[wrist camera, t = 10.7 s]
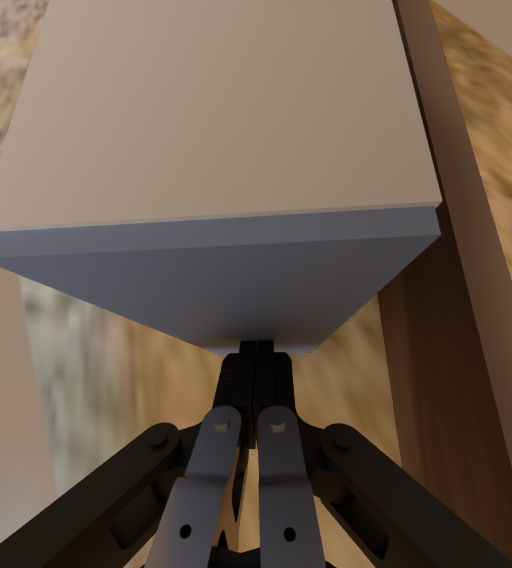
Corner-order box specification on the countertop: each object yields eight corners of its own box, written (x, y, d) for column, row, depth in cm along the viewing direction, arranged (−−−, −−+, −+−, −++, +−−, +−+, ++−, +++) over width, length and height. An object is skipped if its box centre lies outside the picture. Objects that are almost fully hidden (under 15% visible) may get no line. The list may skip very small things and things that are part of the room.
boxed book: (298, 171, 23) (331, -236, 8) (312, 352, 19) (450, 230, 3) (222, 176, 24) (113, -199, 8) (218, 354, 19) (-32, 256, 4)
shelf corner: (368, 102, 25) (443, -136, 13) (450, 585, 15) (1046, 1310, 3) (227, 113, 26) (185, -101, 14) (213, 574, 16) (27, 1112, 4)
